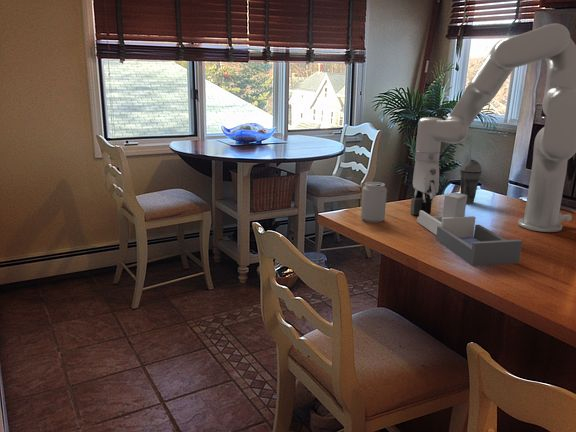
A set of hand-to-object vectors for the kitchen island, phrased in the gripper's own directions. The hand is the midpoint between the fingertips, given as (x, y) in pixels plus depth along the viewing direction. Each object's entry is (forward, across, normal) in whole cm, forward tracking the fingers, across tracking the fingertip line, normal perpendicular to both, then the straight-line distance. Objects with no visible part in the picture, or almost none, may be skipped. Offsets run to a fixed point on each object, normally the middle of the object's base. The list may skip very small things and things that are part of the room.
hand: (421, 210), depth 175 cm
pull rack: (+1, -11, 0) cm, 11 cm away
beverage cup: (+2, +13, -24) cm, 28 cm away
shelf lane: (+2, -34, 0) cm, 34 cm away
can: (+2, -2, +18) cm, 18 cm away
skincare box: (+2, -19, 0) cm, 19 cm away
